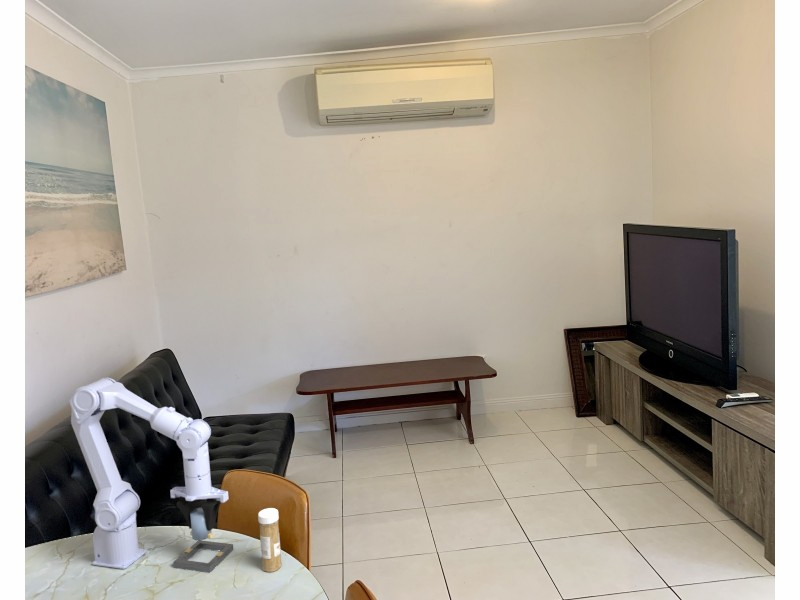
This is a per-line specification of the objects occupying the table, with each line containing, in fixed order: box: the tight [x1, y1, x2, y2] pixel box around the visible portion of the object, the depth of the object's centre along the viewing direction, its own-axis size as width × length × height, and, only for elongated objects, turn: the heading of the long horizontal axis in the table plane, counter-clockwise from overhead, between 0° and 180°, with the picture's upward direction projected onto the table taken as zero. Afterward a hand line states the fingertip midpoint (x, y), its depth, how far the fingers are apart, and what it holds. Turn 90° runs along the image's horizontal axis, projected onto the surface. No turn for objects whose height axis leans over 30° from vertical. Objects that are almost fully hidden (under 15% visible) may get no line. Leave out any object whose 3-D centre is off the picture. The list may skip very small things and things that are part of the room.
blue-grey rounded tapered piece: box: [189, 507, 215, 541], centre depth 134 cm, size 6×4×6 cm
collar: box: [172, 540, 235, 573], centre depth 135 cm, size 10×10×2 cm
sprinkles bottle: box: [257, 507, 283, 573], centre depth 130 cm, size 5×5×14 cm
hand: (201, 527), depth 135 cm, fingers closed on blue-grey rounded tapered piece, 4 cm apart
